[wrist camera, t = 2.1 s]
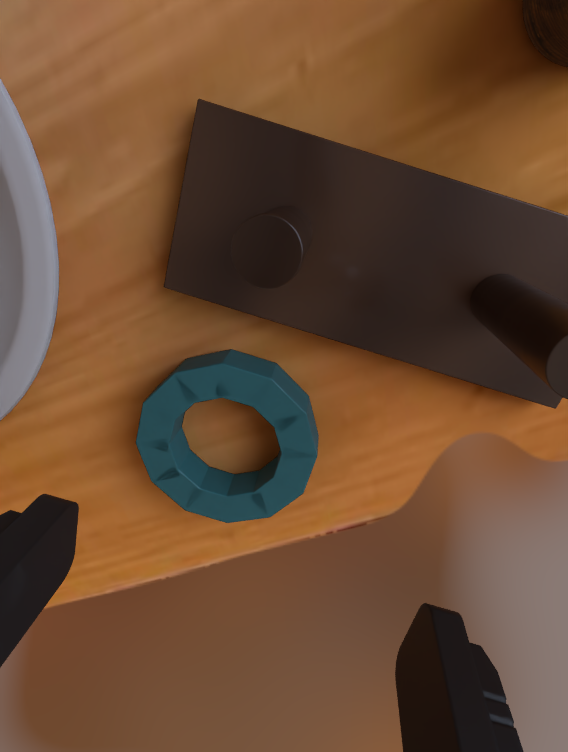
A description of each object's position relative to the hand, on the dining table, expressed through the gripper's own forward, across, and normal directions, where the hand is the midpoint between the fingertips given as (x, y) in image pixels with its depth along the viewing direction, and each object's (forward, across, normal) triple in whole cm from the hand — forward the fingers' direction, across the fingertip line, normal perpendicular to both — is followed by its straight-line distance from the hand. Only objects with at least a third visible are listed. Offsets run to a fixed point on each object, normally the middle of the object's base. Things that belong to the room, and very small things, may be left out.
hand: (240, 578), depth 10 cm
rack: (+17, -3, -6) cm, 19 cm away
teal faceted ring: (+17, +3, +6) cm, 19 cm away
